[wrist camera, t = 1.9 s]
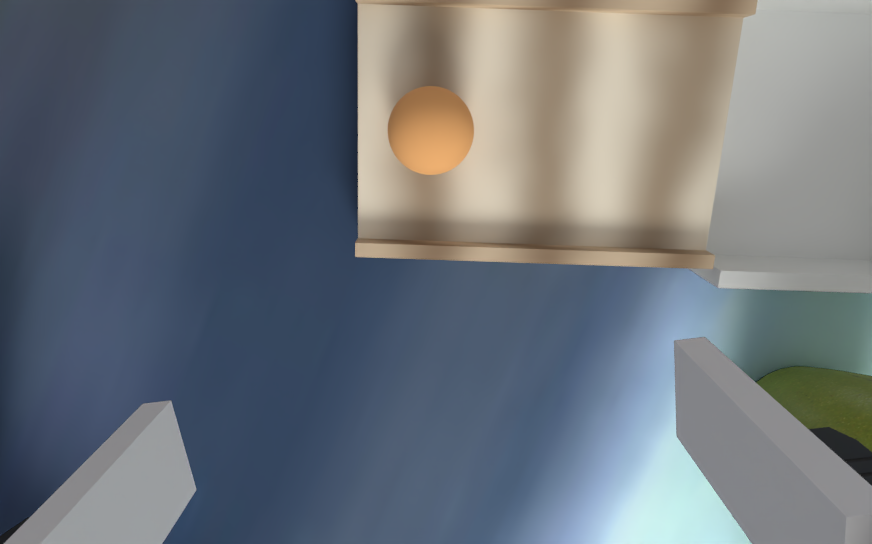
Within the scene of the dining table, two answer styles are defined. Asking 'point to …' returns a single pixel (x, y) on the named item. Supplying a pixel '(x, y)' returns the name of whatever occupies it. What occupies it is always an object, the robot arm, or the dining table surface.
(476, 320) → the dining table surface
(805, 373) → the flower pot
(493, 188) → the deck
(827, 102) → the tray
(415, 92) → the ball
